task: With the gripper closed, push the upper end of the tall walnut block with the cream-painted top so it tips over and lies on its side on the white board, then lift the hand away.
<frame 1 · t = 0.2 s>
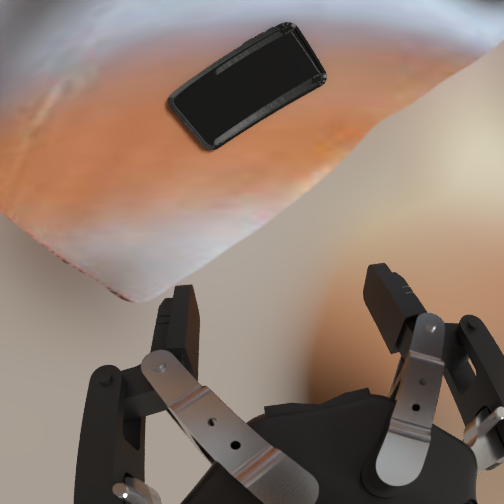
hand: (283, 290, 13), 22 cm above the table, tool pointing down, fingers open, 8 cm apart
phone: (246, 83, 27), on the table
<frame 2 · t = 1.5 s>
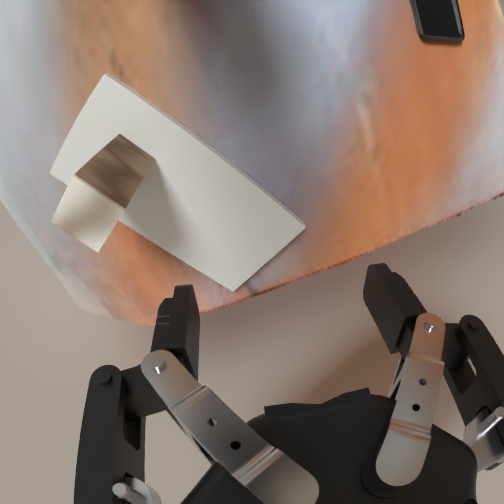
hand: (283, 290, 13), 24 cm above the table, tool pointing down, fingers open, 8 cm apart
walnut block: (125, 163, 31), point 1 cm above the table, touching white board
white board: (175, 191, 35), on the table
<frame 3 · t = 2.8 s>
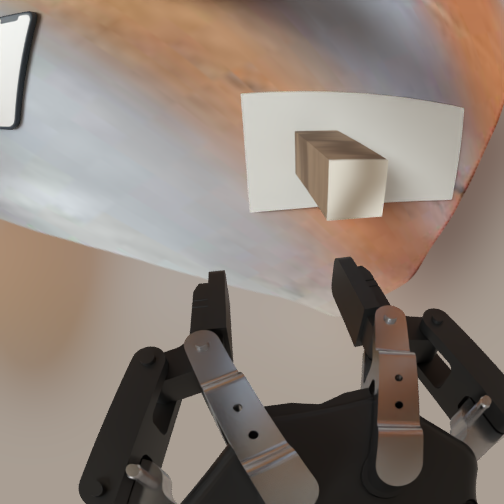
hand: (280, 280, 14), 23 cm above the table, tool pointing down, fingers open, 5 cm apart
walnut block: (316, 151, 33), point 1 cm above the table, touching white board
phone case: (6, 70, 23), on the table
white board: (366, 147, 34), on the table
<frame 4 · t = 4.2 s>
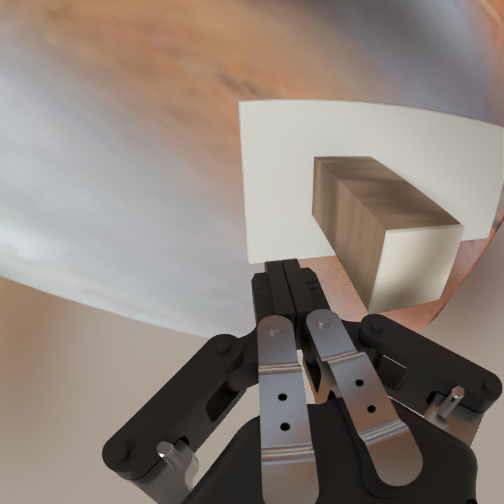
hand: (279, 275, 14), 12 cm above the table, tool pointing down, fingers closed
walnut block: (341, 185, 24), point 1 cm above the table, touching white board
white board: (401, 178, 26), on the table
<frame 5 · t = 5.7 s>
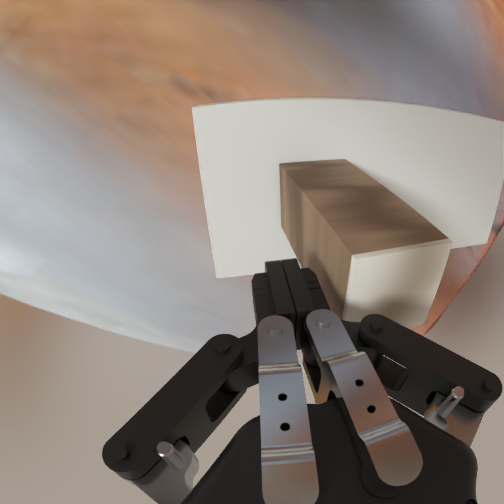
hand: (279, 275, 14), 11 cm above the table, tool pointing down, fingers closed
walnut block: (312, 192, 22), point 2 cm above the table, touching white board, gripper
white board: (384, 181, 24), on the table
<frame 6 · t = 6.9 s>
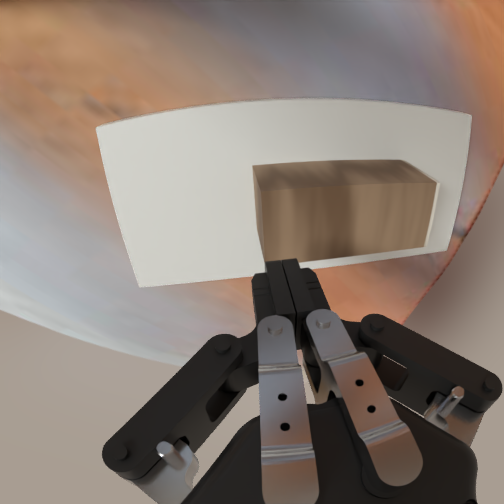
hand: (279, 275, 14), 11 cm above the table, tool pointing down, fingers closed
walnut block: (258, 213, 20), point 4 cm above the table, tilted 90°, touching white board
white board: (309, 186, 23), on the table
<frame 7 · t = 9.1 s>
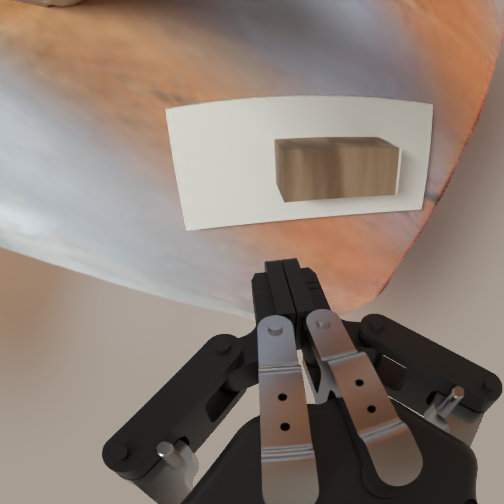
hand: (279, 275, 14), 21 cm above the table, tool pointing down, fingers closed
walnut block: (279, 169, 29), point 4 cm above the table, tilted 90°, touching white board
white board: (312, 156, 32), on the table
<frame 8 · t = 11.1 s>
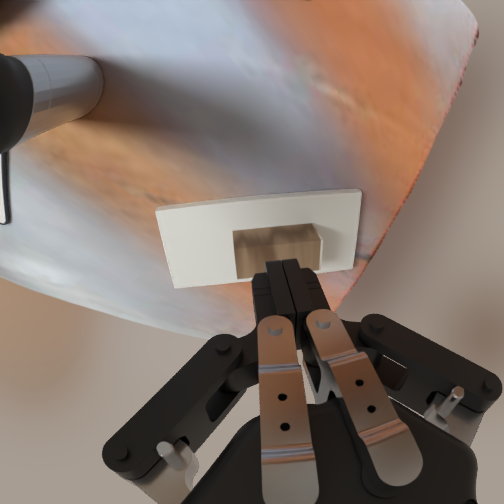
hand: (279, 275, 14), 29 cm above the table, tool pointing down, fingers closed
walnut block: (234, 254, 43), point 4 cm above the table, tilted 90°, touching white board
white board: (262, 237, 47), on the table
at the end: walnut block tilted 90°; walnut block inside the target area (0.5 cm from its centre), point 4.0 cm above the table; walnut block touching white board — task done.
